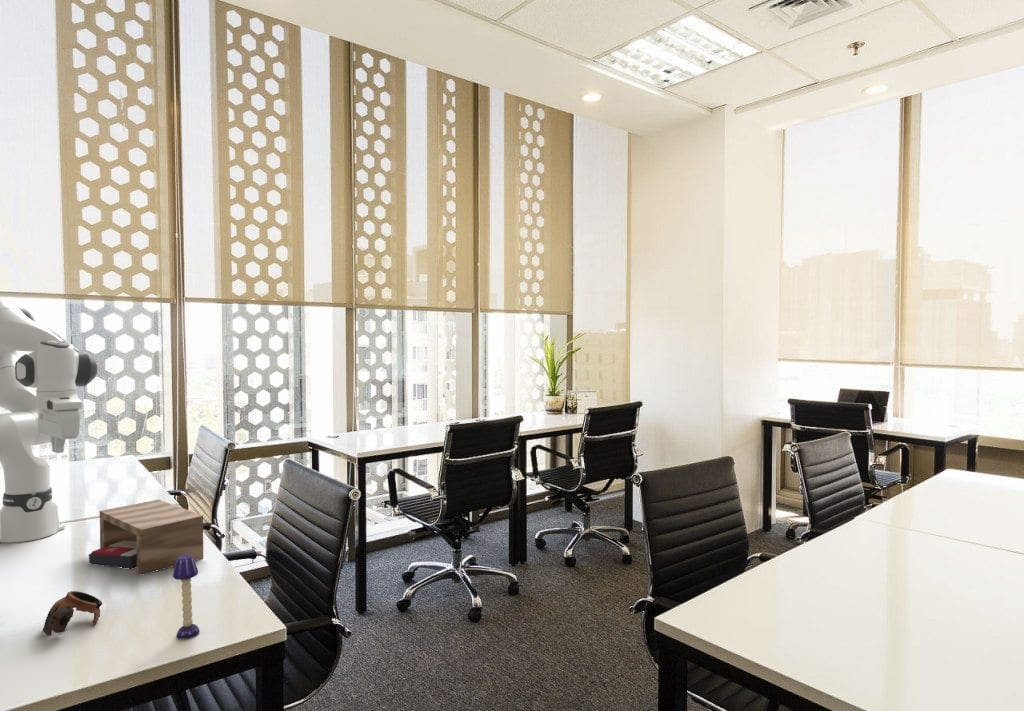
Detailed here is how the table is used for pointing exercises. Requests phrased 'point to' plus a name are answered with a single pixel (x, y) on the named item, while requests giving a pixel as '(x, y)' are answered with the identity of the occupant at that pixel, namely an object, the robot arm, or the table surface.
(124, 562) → the calculator
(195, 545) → the monitor riser
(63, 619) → the brown curved loop
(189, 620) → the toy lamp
